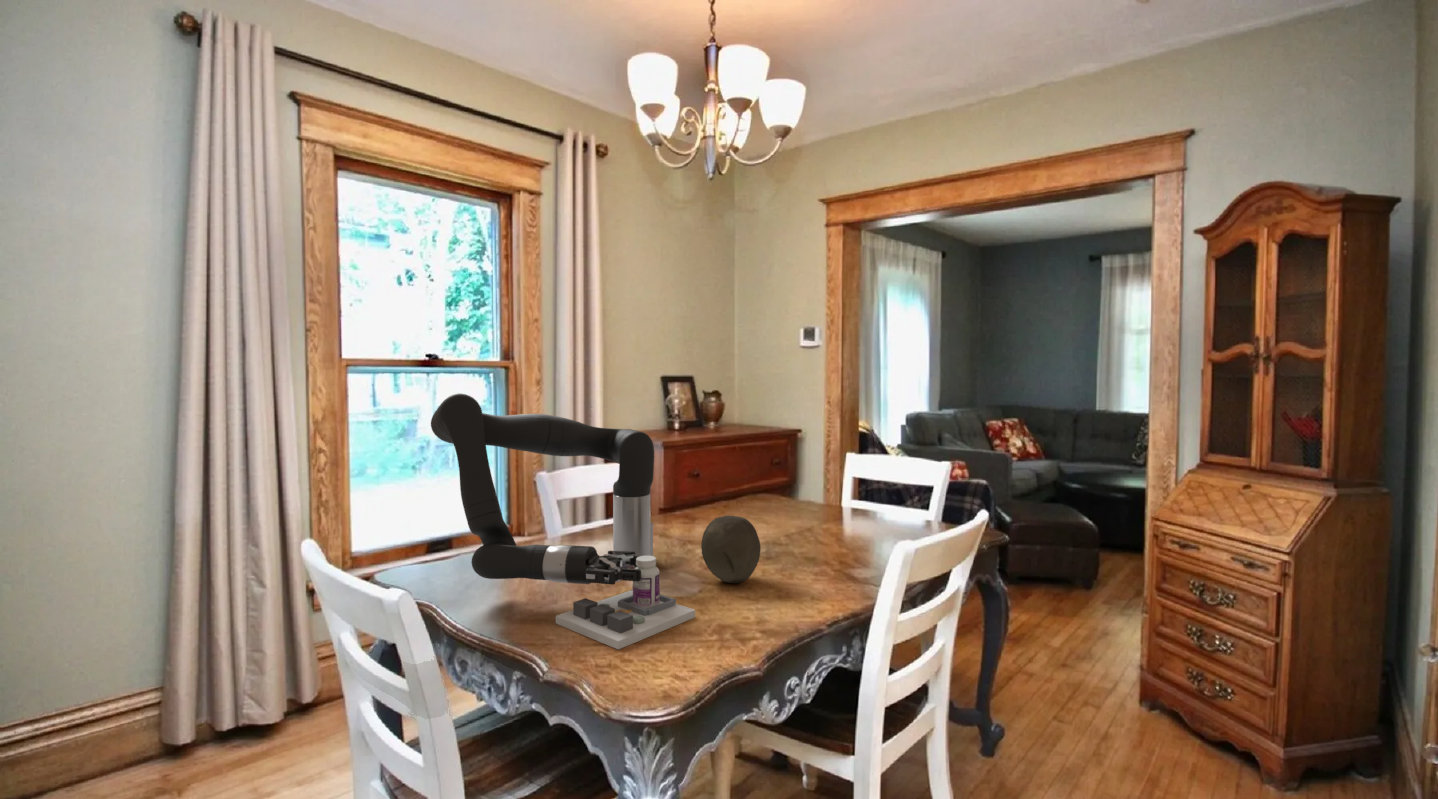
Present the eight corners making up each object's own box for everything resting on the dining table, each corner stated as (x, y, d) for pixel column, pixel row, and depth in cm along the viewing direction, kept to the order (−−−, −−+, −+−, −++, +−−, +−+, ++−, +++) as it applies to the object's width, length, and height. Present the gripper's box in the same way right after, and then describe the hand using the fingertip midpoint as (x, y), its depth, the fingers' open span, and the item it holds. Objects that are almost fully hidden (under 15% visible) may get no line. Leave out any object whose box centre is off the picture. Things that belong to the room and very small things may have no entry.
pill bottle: (648, 598, 140) (648, 552, 139) (665, 605, 136) (665, 558, 136) (627, 605, 136) (627, 557, 136) (643, 612, 132) (643, 563, 132)
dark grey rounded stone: (773, 580, 157) (774, 516, 156) (732, 595, 147) (733, 527, 146) (728, 567, 166) (728, 507, 166) (687, 580, 156) (687, 516, 155)
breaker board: (633, 596, 146) (633, 578, 145) (695, 617, 134) (695, 597, 134) (555, 623, 130) (555, 603, 130) (618, 649, 119) (618, 627, 118)
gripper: (556, 555, 131) (636, 560, 129) (583, 537, 145) (656, 540, 143) (556, 593, 132) (636, 599, 129) (583, 571, 146) (656, 576, 143)
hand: (647, 568), depth 136 cm, fingers open, 8 cm apart
